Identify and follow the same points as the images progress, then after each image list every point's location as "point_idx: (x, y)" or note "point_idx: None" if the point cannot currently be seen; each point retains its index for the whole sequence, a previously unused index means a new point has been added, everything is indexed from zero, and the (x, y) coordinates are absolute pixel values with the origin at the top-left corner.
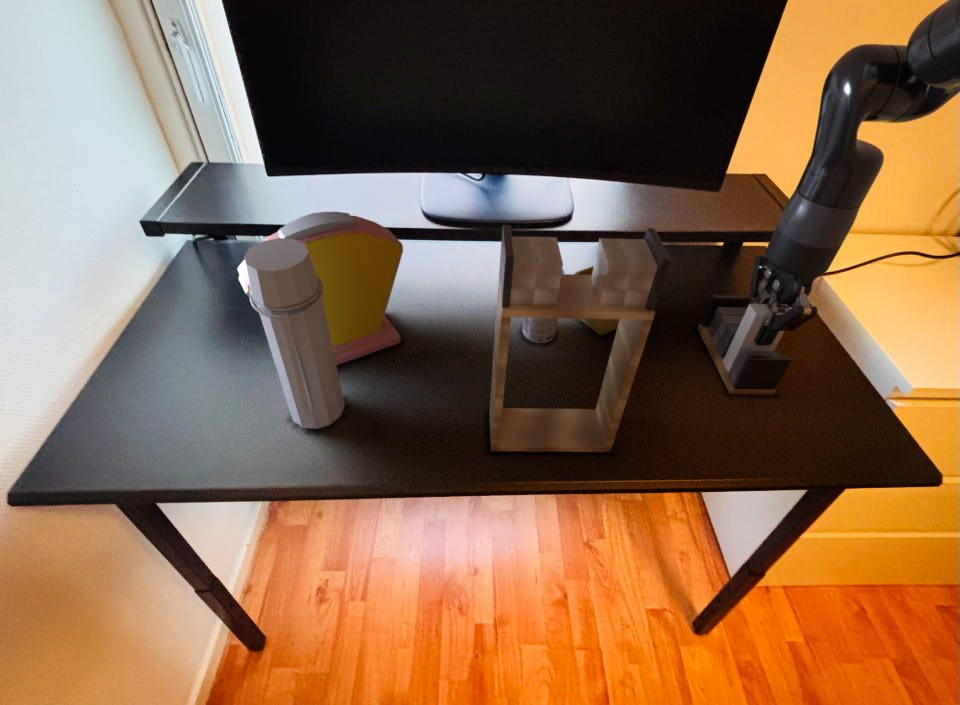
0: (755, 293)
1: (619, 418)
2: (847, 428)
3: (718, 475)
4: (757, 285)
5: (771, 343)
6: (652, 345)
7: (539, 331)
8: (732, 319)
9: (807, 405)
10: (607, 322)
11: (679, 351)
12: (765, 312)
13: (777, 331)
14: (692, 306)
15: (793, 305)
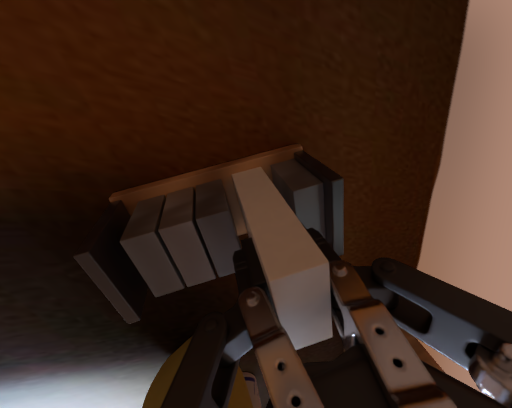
0: (239, 359)
1: (424, 349)
2: (372, 9)
3: (422, 222)
4: (230, 390)
5: (317, 232)
6: (222, 300)
7: (259, 396)
8: (196, 271)
9: (317, 82)
10: (244, 378)
11: None
12: (322, 323)
13: (338, 258)
14: (71, 267)
15: (480, 386)
